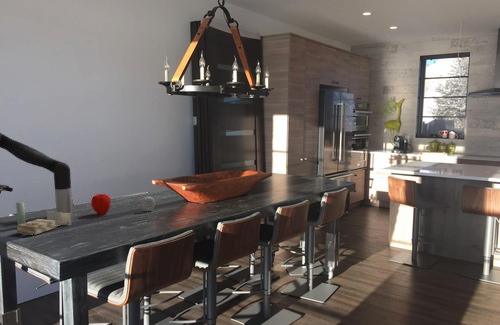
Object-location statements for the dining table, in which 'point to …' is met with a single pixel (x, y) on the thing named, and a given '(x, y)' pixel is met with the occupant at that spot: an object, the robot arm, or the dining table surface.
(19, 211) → the dowel
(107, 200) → the apple
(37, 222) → the socket block
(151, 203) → the donut
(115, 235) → the dining table surface
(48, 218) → the rail base
